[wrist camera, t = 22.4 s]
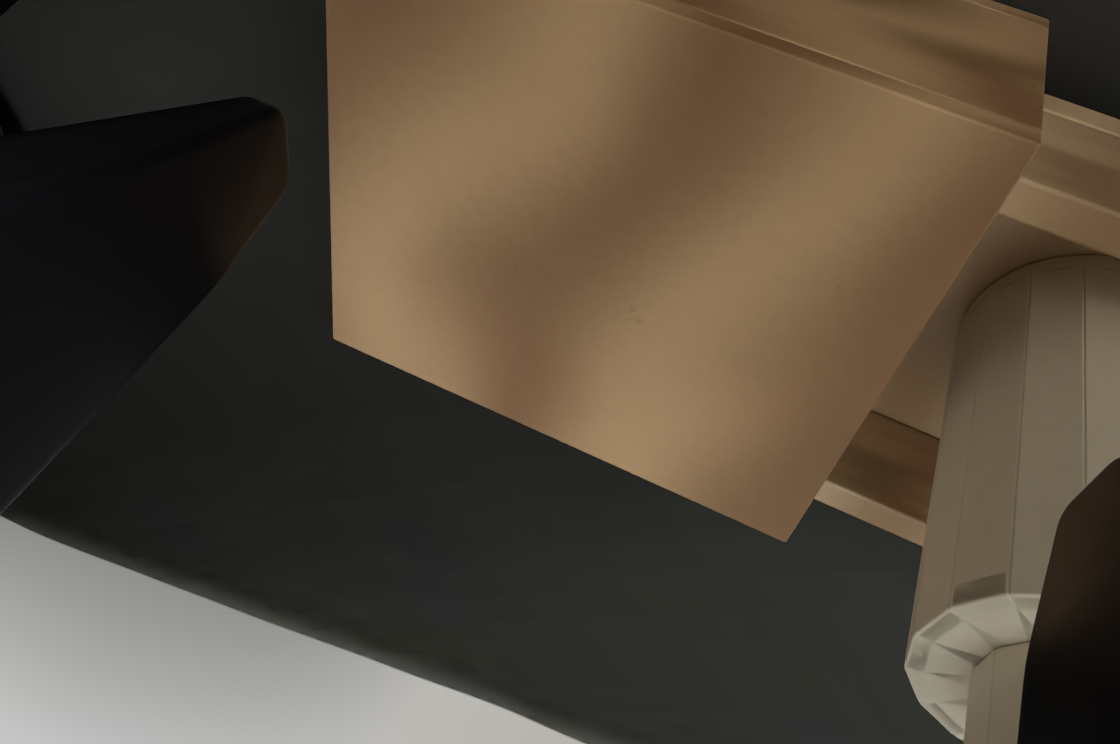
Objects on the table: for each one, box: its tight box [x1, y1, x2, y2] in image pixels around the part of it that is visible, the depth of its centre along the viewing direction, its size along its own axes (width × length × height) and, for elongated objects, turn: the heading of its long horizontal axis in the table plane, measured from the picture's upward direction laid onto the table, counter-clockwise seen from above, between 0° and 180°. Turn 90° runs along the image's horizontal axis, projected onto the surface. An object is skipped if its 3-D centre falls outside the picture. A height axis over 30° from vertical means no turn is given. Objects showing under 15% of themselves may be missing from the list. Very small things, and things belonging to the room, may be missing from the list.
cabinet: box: [325, 0, 1049, 542], centre depth 21 cm, size 13×12×6 cm
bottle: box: [904, 255, 1120, 744], centre depth 16 cm, size 5×5×12 cm
